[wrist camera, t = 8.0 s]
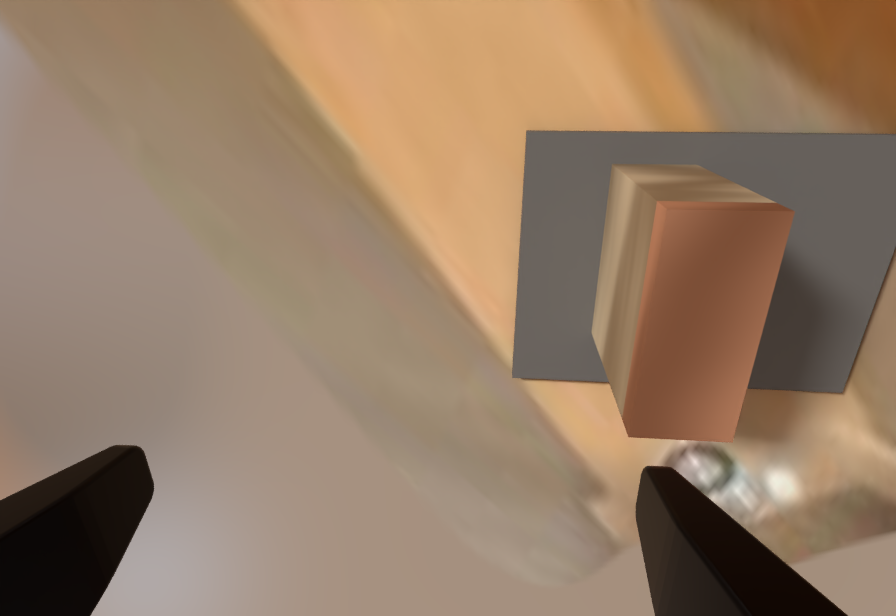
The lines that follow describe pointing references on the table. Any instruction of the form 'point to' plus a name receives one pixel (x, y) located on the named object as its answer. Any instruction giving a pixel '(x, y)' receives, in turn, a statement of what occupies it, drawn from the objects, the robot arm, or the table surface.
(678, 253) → the birch block
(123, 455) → the robot arm
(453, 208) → the table surface
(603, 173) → the felt mat
